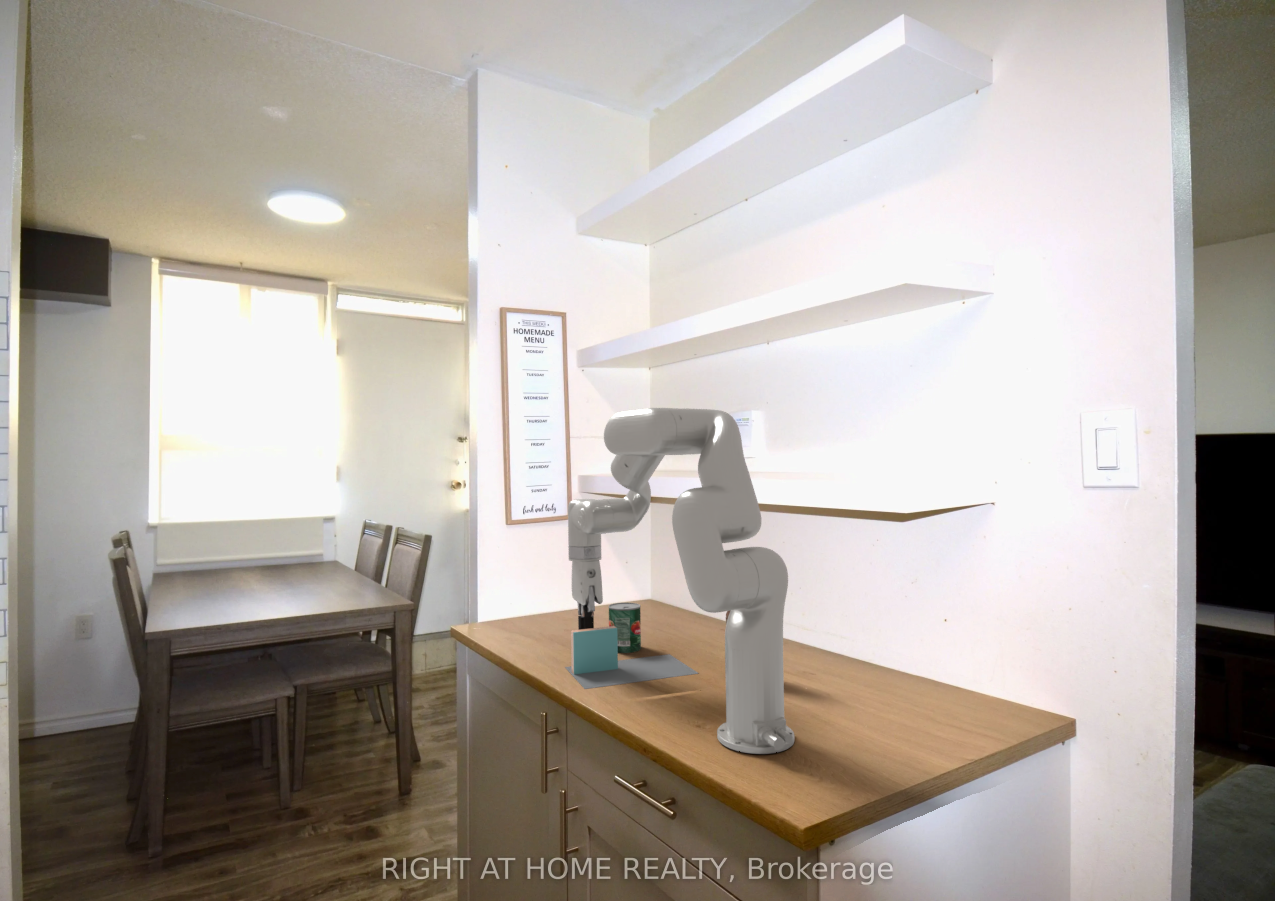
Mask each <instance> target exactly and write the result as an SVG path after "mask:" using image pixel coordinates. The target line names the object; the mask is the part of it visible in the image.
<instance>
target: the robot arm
mask: <svg viewBox="0 0 1275 901" xmlns="http://www.w3.org/2000/svg"><path fill="white" fill-rule="evenodd" d="M740 431H741V430H740V428H739V425H738V423H737V422H736V420H735V419H734V417H733V416H732V415H731V414H729V413H727V412H726V411H724V410H720V409H707V408H675V407H672V408H671V407H648V408H640V409H639V408H638V409H631V410H623V411H619V412H618V411H617V412H616V413H614V414H613V415H612V416H611V417H610V418H609V419H608V420H607V423H606V425H605V427H604V431H603V442H604V445H605V447H606V449H607V450H608V451H609V452H610V453H612V454H613V455H615V456H614V458H613V459H612V461H611V464H610V472H611V475H612V477H613V478H614V480H615V481H616V482H617V483H618V484H619V485H621V486H622V487H624V488H625V489H627V490H628V492H627V493H626V495H625V496H624V497H623V498H604V499H593V498H578V499H577V498H575V499H573V500H570V501H569V503H568V505H567V529H568V530H567V531H568V532H567V533H568V546H567V547H568V561H570V562H571V596H572V598H573V600H574V601H576V602H577V614H578V615H577V616H578V619H577V621H578V622H577V624H578V625H577V626H578V629H577V630H581V629H591V628H595V626H594V625H595V622H594V620H595V619H594V618H595V617H594V616H595V611H596V606H595V604H596V603H597V604H598V605H602V603H603V600H604V599H603V598H604V596H603V595H604V594H603V580H602V569H601V563H600V562H601V561H600V560H602V535H603V534H612V533H623V532H629V531H632V530H633V529H635V528H636V527H637V526H638V525H639V524H640V522H642V520H643V519H644V517H645V515H646V514H647V512H649V511H648V510H649V508H650V507H651V499H652V498H651V497H652V490H651V485H650V482H649V480H650V479H651V477H652V476H653V474H654V472H655V471H656V470H657V468H658V467H659V465H660V463H661V462H662V461H663V459H664V458H665V456H679V455H680V456H683V455H699V458H698V463H697V473H698V474H697V475H698V477H699V481H700V484H701V487H693V488H690V489H686V490H685V491H683V492H682V493H681V494H680V495H679V496H678V497H677V499H676V500H675V503H674V505H673V510H672V515H671V517H672V518H671V520H672V521H671V523H672V531H673V535H674V540H675V542H676V547H677V552H678V555H679V559H680V563H681V566H682V570H683V574H684V579H685V582H686V585H687V589H688V592H689V594H690V596H691V599H692V601H693V602H694V603H695V604H696V606H697V607H698V608H699V609H700V610H702V611H703V612H706V613H712V614H716V613H717V614H718V613H722V612H723V613H725V612H727V611H730V610H731V611H730V613H729V616H728V619H727V623H726V622H725V631H724V659H725V662H724V663H725V665H724V666H725V667H724V669H725V705H726V706H725V718H726V721H725V722H723V723H722V724H720V725H719V726H718V728H717V730H716V736H717V737H716V738H717V739H718V741H719V742H720V744H722V746H724V747H726V748H727V749H730V750H733V751H736V752H739V751H740V752H741V753H745V754H751V755H752V754H754V755H769V754H776V752H777V753H781V752H784V751H786V750H788V749H790V748H791V747H793V745H794V743H795V732H794V731H793V729H791V727H789V726H788V725H787V719H786V718H785V689H784V688H785V686H784V683H785V680H784V613H785V605H786V598H787V594H788V587H789V574H788V568H787V566H786V563H785V561H784V559H783V557H781V555H780V554H778V553H777V551H774V550H773V549H770V548H768V547H763V546H747V547H741V548H740V547H738V548H731V549H725V550H724V546H723V544H729V543H737V542H742V541H745V540H749V539H752V538H753V537H755V536H756V535H757V534H758V533H759V532H760V530H761V527H762V515H761V509H760V505H759V502H758V499H757V495H756V492H755V488H754V485H753V482H752V479H751V475H750V472H749V468H748V466H747V463H746V459H745V454H744V450H743V443H742V442H743V441H742V435H741V432H740Z"/></svg>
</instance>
